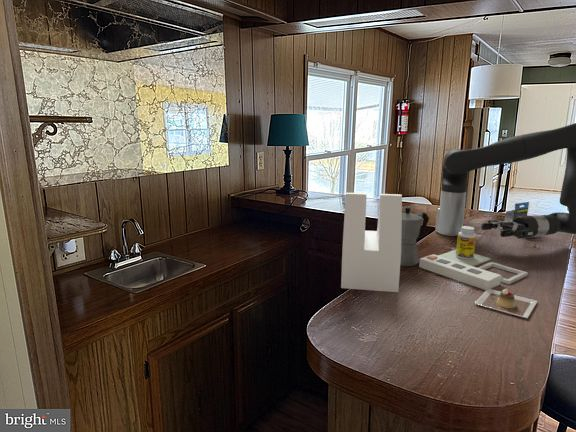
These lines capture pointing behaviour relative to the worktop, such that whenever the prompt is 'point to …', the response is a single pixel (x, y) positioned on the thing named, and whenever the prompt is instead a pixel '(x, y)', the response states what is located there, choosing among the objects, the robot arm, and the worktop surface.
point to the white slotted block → (372, 244)
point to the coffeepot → (411, 236)
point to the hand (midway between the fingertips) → (491, 230)
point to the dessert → (506, 301)
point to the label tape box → (517, 211)
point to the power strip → (460, 271)
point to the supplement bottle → (466, 243)
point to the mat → (472, 262)
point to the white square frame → (510, 280)
